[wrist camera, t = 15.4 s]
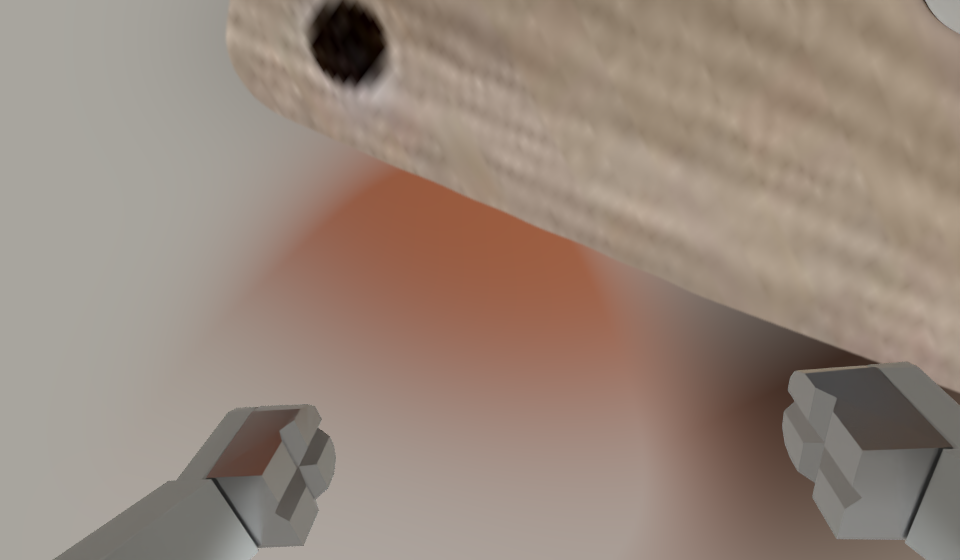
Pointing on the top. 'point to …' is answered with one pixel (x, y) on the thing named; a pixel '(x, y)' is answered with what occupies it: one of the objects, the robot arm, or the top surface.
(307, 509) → the robot arm
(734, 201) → the top surface
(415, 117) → the top surface
